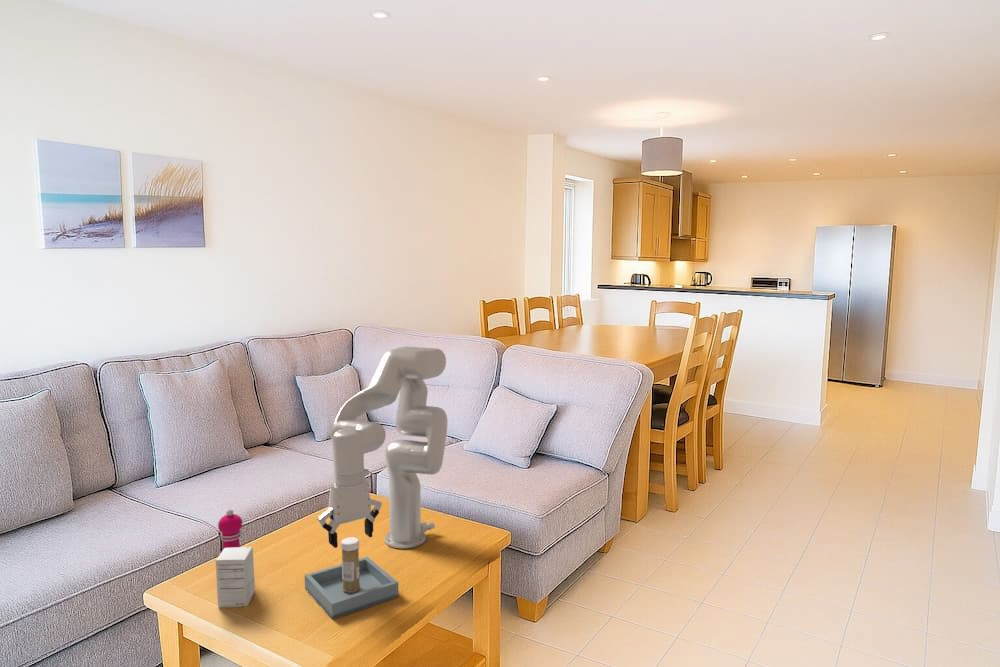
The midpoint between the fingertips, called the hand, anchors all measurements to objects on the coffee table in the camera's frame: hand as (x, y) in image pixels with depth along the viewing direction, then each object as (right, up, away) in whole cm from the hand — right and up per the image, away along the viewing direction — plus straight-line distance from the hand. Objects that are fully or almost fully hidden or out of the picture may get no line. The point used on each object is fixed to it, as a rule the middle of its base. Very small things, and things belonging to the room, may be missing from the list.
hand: (351, 540), depth 173 cm
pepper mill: (-34, -13, +7) cm, 37 cm away
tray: (0, -14, +1) cm, 14 cm away
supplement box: (-29, -15, -3) cm, 32 cm away
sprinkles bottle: (0, -13, +1) cm, 13 cm away
